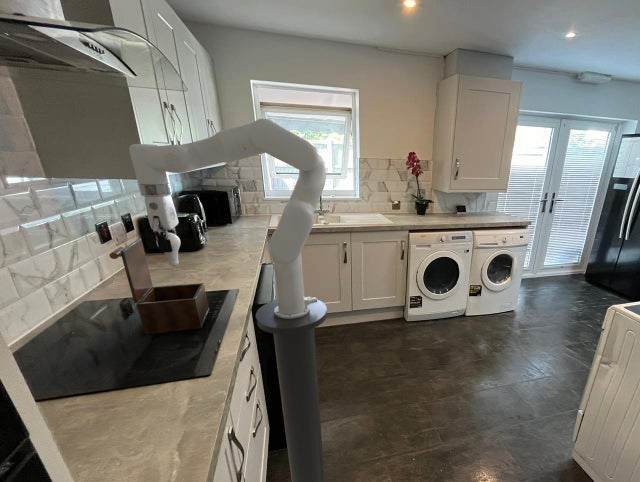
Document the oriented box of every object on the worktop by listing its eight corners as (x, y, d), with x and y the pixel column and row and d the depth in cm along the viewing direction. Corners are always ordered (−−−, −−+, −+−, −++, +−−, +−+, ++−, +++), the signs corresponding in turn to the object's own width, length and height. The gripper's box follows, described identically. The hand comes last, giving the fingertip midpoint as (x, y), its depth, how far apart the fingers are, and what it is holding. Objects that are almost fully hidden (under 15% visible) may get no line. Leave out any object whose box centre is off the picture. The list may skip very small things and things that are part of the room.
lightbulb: (166, 263, 105) (158, 230, 101) (188, 262, 107) (180, 229, 103) (160, 270, 100) (150, 235, 96) (182, 268, 102) (174, 235, 97)
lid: (141, 238, 103) (121, 239, 102) (123, 251, 91) (100, 251, 90) (152, 285, 109) (134, 286, 108) (137, 302, 98) (116, 304, 96)
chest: (209, 310, 119) (203, 283, 114) (201, 328, 107) (194, 299, 103) (159, 314, 114) (151, 286, 110) (145, 334, 102) (136, 304, 98)
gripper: (161, 194, 88) (176, 256, 95) (178, 186, 103) (190, 241, 110) (128, 194, 86) (145, 258, 93) (150, 186, 101) (164, 242, 108)
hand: (169, 248), depth 101 cm, fingers closed on lightbulb, 6 cm apart
